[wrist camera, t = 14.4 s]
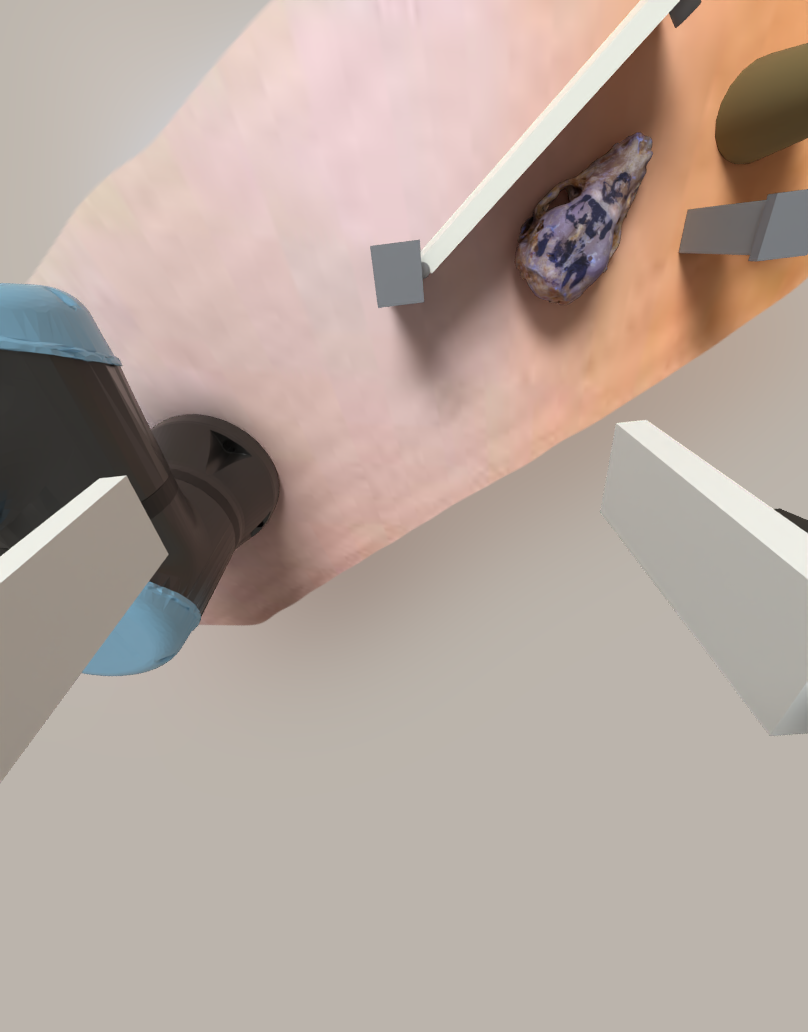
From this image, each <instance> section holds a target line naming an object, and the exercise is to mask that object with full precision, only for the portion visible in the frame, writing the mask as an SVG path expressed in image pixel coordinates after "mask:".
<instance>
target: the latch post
mask: <svg viewBox="0 0 808 1032" xmlns="http://www.w3.org/2000/svg"><path fill="white" fill-rule="evenodd" d="M679 253H698V254H732V255H750V257H749V260H748V261H764V260H772V259H780V258H788V257H796V256H804V255H807V254H808V189H806V190H798V191H791V192H783V193H775V194H768V196H767V199H766V200H762V201H754V202H745V203H737V204H729V205H721V206H713V207H705V208H697V209H690V210H688V212H687V216H686V221H685V226H684V230H683V235H682V240H681V244H680V249H679Z"/></svg>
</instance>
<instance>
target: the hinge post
mask: <svg viewBox="0 0 808 1032" xmlns="http://www.w3.org/2000/svg"><path fill="white" fill-rule="evenodd" d="M370 249H371V256H372V264H373V272H374V280H375V287H376V295H377V303H378V308H381V307H389V306H397V305H406V304H414V303H422V302H424V293H423V279H422V265H421V252H420V240H414V241H406V242H399V243H391V244H383V245H375V246H370Z"/></svg>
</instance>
